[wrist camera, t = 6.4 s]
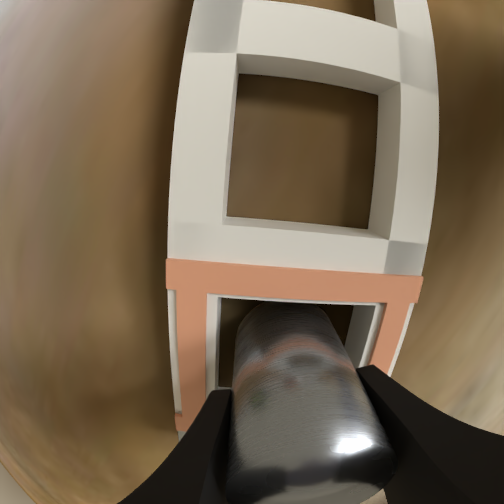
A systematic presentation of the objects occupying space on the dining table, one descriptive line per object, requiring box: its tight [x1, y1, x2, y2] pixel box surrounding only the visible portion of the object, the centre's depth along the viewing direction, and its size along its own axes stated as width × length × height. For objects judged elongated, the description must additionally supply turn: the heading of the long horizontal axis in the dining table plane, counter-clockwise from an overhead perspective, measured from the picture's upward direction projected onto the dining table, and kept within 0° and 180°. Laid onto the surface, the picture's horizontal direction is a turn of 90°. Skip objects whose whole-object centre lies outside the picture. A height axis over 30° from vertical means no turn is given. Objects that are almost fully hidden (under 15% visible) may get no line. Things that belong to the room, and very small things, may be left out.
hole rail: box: [166, 0, 439, 442], centre depth 9 cm, size 9×28×2 cm, turn 175°
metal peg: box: [225, 301, 398, 504], centre depth 8 cm, size 4×4×7 cm
